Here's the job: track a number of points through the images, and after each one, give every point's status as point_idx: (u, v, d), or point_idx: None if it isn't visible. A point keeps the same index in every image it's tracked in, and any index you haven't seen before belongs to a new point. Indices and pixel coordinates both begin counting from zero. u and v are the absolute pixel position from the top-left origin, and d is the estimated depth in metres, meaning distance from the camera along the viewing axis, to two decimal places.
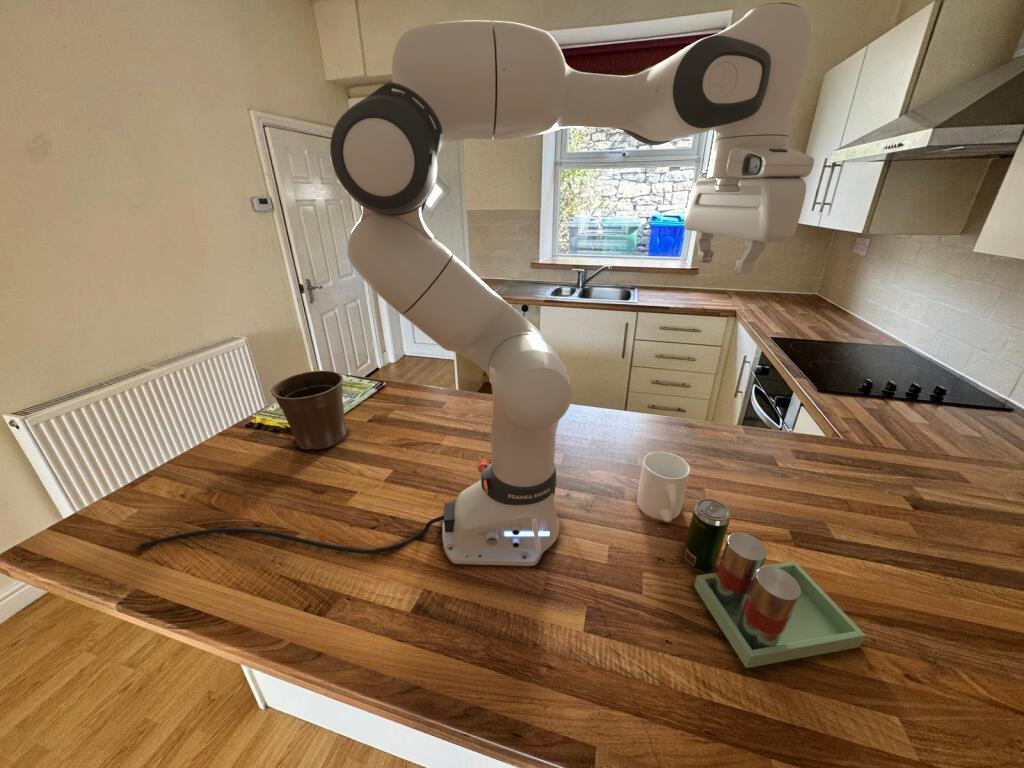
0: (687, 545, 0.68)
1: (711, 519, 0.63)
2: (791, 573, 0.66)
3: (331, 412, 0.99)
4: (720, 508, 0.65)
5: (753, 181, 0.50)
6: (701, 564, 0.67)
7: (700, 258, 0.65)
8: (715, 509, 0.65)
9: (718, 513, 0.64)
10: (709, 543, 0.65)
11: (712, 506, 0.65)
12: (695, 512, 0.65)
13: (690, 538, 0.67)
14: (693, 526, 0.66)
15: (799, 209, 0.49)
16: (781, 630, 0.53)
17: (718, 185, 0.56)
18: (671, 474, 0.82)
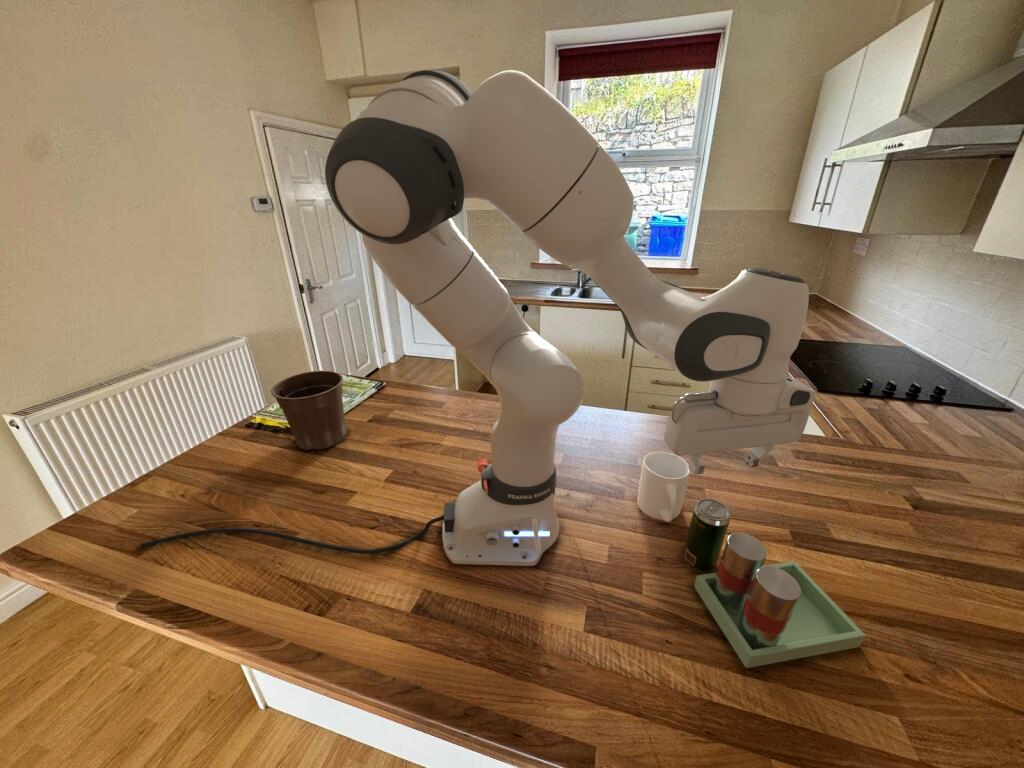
0: (687, 545, 0.68)
1: (711, 519, 0.63)
2: (791, 573, 0.66)
3: (331, 412, 0.99)
4: (720, 508, 0.65)
5: (794, 408, 0.55)
6: (701, 564, 0.67)
7: (700, 471, 0.60)
8: (715, 509, 0.65)
9: (718, 513, 0.64)
10: (709, 543, 0.65)
11: (712, 506, 0.65)
12: (695, 512, 0.65)
13: (690, 538, 0.67)
14: (693, 526, 0.66)
15: None
16: (781, 630, 0.53)
17: (754, 416, 0.54)
18: (671, 474, 0.82)
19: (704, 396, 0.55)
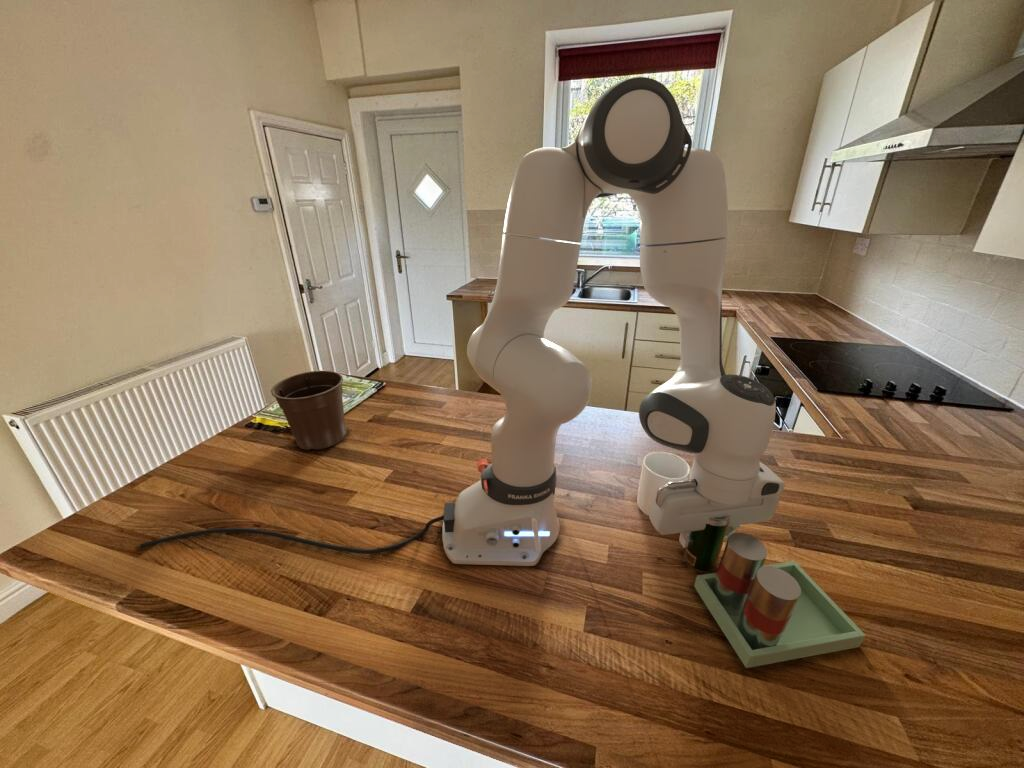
0: None
1: (711, 519, 0.63)
2: (791, 573, 0.66)
3: (331, 412, 0.99)
4: None
5: (765, 495, 0.61)
6: (701, 564, 0.67)
7: (690, 545, 0.67)
8: None
9: None
10: (709, 543, 0.65)
11: None
12: None
13: None
14: None
15: None
16: (781, 630, 0.53)
17: None
18: (671, 474, 0.82)
19: (685, 485, 0.61)
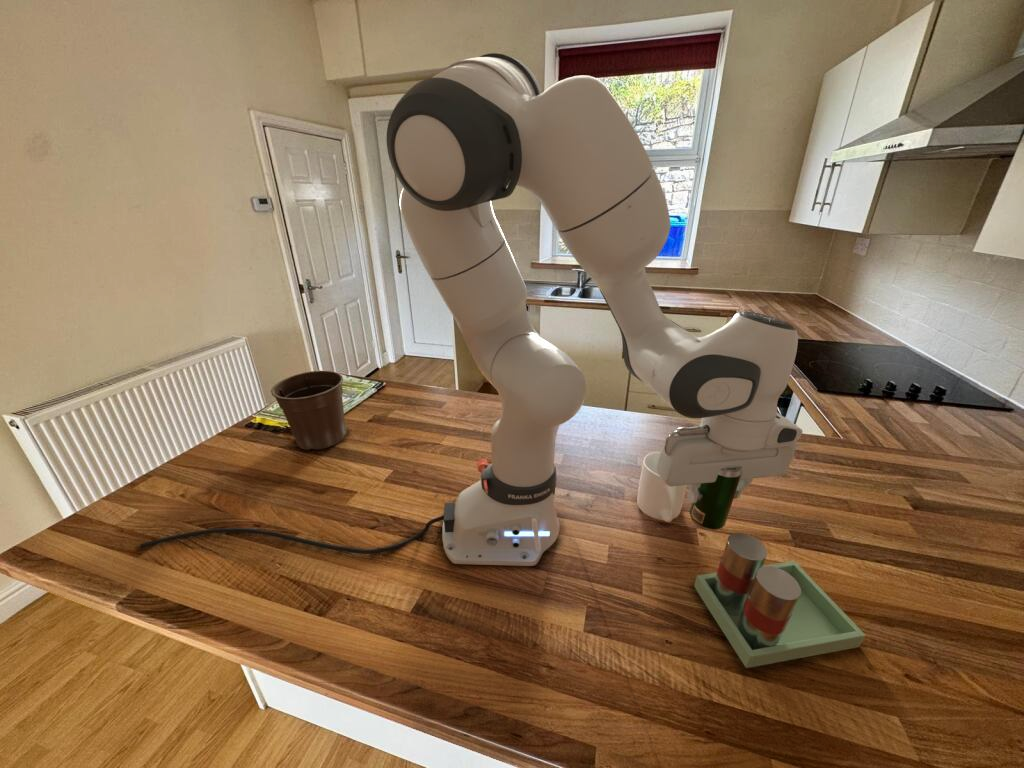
0: None
1: (723, 470, 0.59)
2: (791, 573, 0.66)
3: (331, 412, 0.99)
4: None
5: (781, 444, 0.58)
6: (710, 521, 0.63)
7: (699, 500, 0.62)
8: None
9: None
10: (719, 497, 0.61)
11: None
12: None
13: None
14: None
15: None
16: (781, 630, 0.53)
17: (743, 451, 0.56)
18: None
19: (696, 430, 0.57)
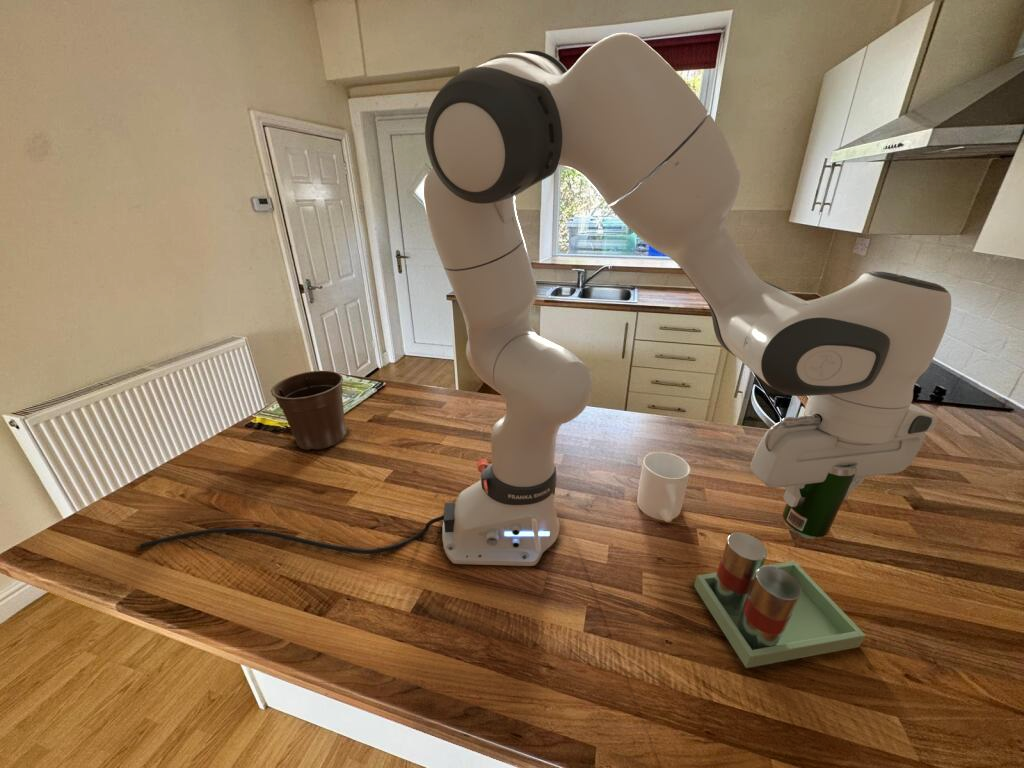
0: None
1: (835, 467, 0.49)
2: (791, 573, 0.66)
3: (331, 412, 0.99)
4: None
5: (910, 435, 0.47)
6: (813, 528, 0.53)
7: (800, 503, 0.53)
8: None
9: None
10: (828, 499, 0.51)
11: None
12: None
13: None
14: None
15: None
16: (781, 630, 0.53)
17: (865, 444, 0.46)
18: (671, 474, 0.82)
19: (806, 421, 0.47)
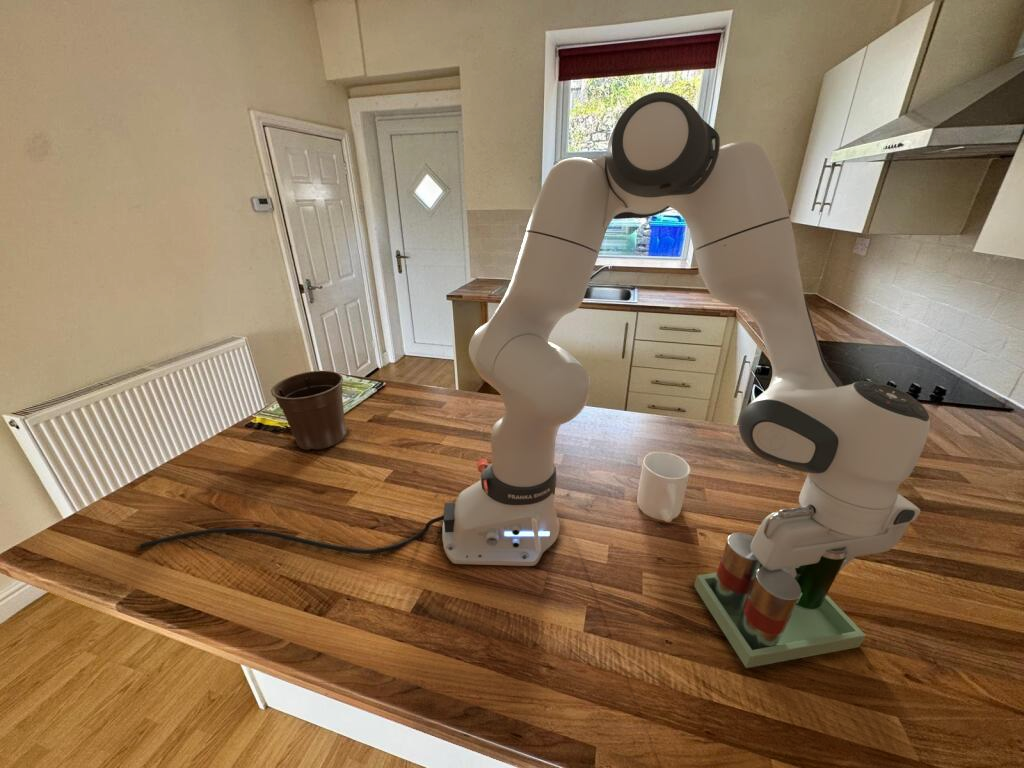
0: None
1: (827, 551, 0.53)
2: None
3: (331, 412, 0.99)
4: None
5: None
6: (808, 601, 0.57)
7: (796, 580, 0.57)
8: None
9: None
10: (821, 578, 0.55)
11: None
12: None
13: None
14: None
15: None
16: (781, 630, 0.53)
17: None
18: (671, 474, 0.82)
19: (801, 512, 0.51)
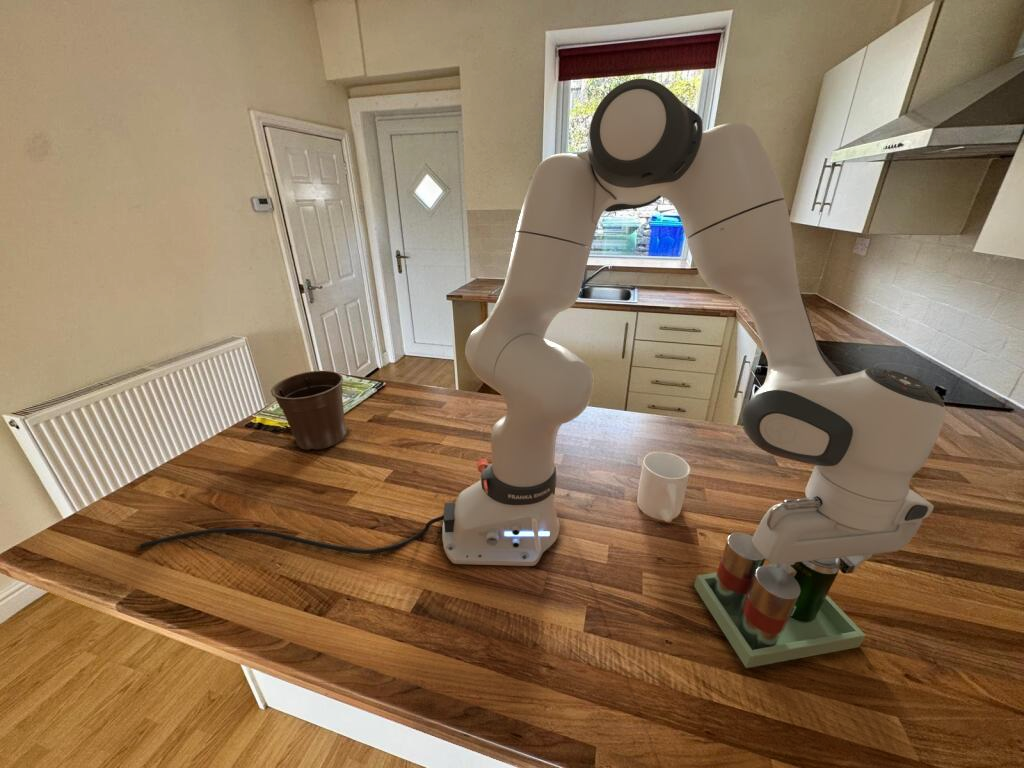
0: None
1: (820, 566, 0.55)
2: None
3: (331, 412, 0.99)
4: None
5: (907, 520, 0.50)
6: (802, 614, 0.58)
7: None
8: None
9: None
10: (815, 592, 0.56)
11: None
12: None
13: None
14: None
15: None
16: (781, 629, 0.53)
17: (863, 529, 0.49)
18: (671, 474, 0.82)
19: (807, 504, 0.49)
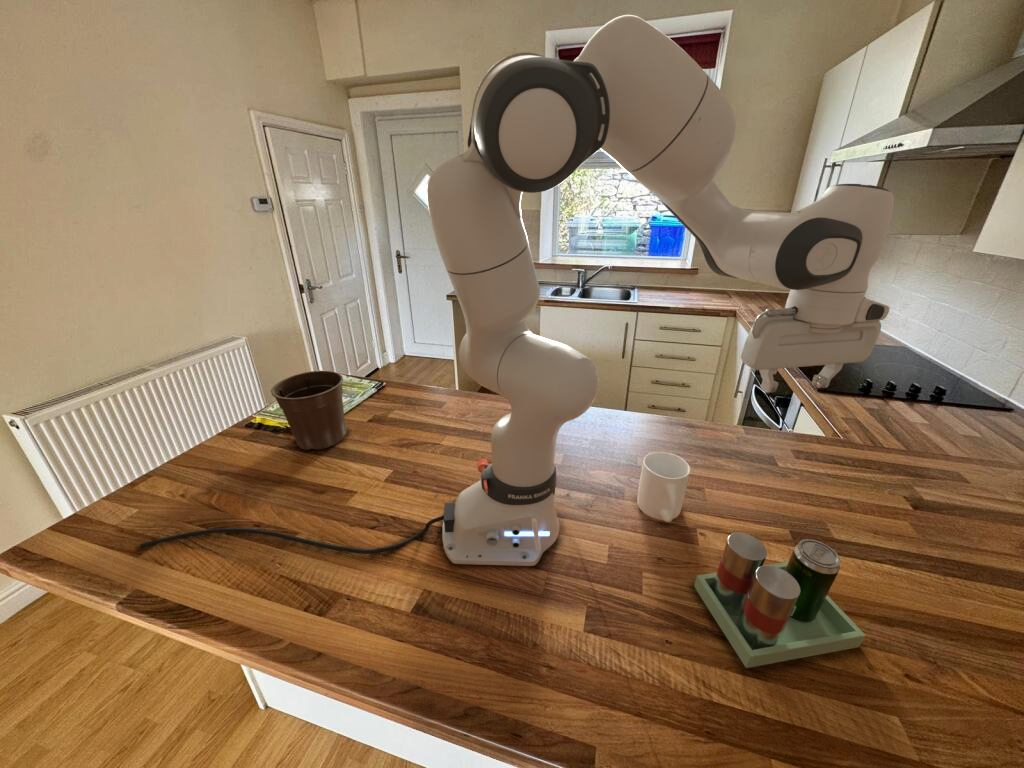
0: None
1: (820, 566, 0.55)
2: None
3: (331, 412, 0.99)
4: (826, 552, 0.57)
5: (868, 323, 0.59)
6: (802, 614, 0.58)
7: (774, 389, 0.64)
8: (821, 553, 0.56)
9: (827, 558, 0.55)
10: (815, 592, 0.56)
11: (817, 549, 0.57)
12: (797, 556, 0.57)
13: None
14: (794, 571, 0.58)
15: None
16: (781, 629, 0.53)
17: (832, 329, 0.58)
18: (671, 474, 0.82)
19: (785, 311, 0.59)
